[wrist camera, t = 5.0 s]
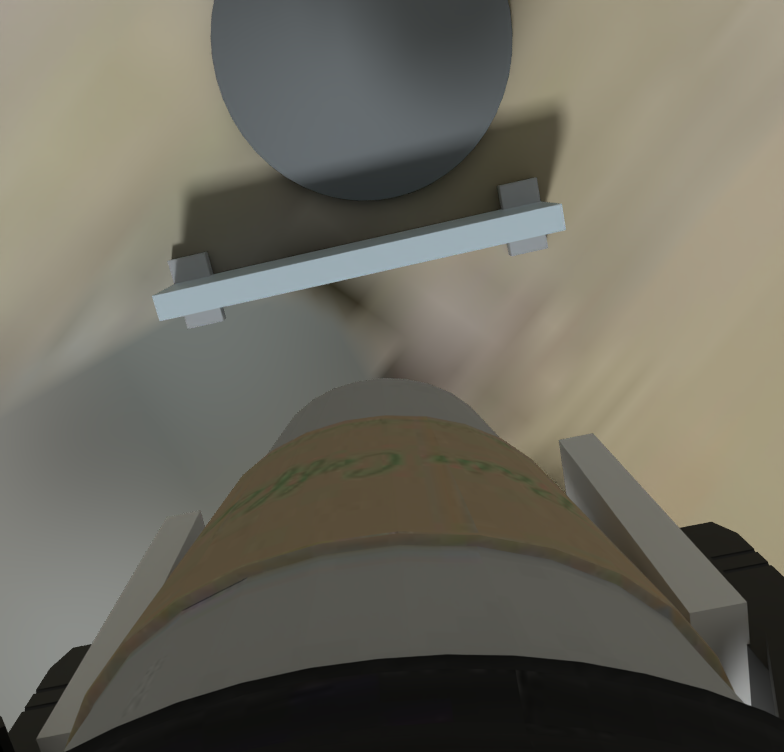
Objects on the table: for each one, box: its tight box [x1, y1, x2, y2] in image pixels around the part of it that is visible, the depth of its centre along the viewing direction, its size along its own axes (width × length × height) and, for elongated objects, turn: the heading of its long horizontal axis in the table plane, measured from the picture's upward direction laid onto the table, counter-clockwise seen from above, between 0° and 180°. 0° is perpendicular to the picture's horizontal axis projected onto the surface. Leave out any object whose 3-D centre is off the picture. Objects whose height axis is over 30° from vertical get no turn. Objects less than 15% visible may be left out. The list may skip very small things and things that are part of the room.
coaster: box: [211, 0, 512, 200], centre depth 29 cm, size 12×12×1 cm
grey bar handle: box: [152, 178, 566, 329], centre depth 30 cm, size 16×3×4 cm, turn 102°
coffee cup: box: [63, 378, 784, 752], centre depth 11 cm, size 9×9×15 cm
